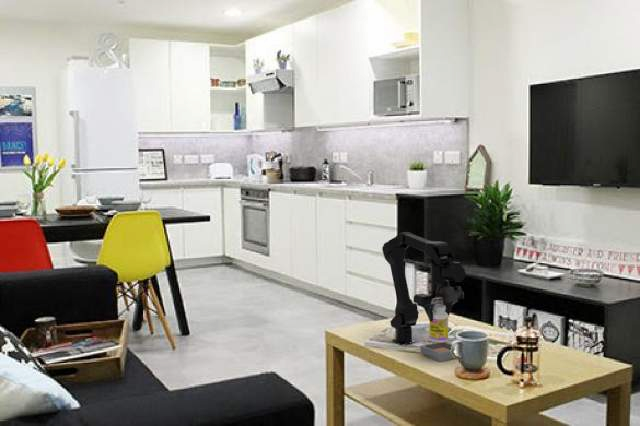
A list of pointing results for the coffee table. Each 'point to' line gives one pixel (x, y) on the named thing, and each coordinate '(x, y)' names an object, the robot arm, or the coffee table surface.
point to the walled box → (437, 351)
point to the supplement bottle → (439, 324)
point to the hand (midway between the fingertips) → (438, 320)
